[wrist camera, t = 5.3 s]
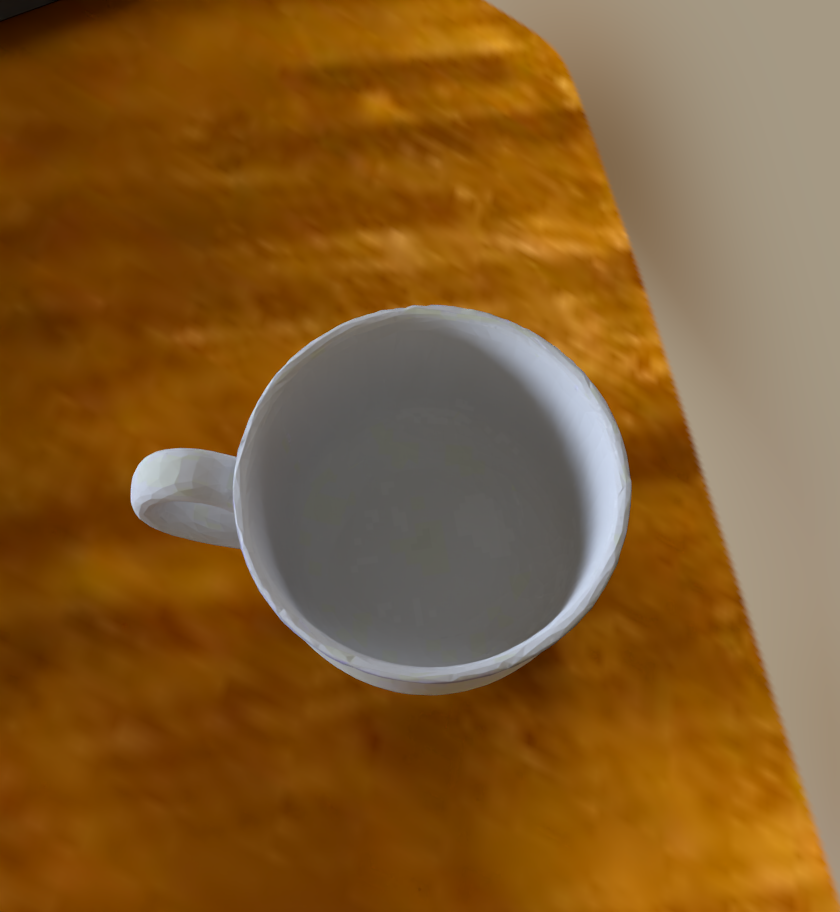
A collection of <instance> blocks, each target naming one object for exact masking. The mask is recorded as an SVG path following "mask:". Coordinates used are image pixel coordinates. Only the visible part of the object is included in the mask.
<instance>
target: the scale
mask: <svg viewBox="0 0 840 912" xmlns="http://www.w3.org/2000/svg"><path fill="white" fill-rule="evenodd" d="M54 1H57V0H0V21H2V20H4V19H7V18H10V17H13V16H15V15H18V14H21V13H24V12H27V11H29V10H32V9H35V8H38V7H40V6H43V5H46V4H49V3H51V2H54Z"/></svg>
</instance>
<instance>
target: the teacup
mask: <svg viewBox="0 0 840 912" xmlns="http://www.w3.org/2000/svg"><path fill="white" fill-rule="evenodd" d="M131 504H132V507H133V510H134V512H135V513H136V515H137V516H138V517H139V519H141V520H142V521H144V522H145V523H146V524H148V525H149V526H151V527H153V528H155V529H158V530H160V531H162V532H165V533H168V534H171V535H174V536H178V537H182V538H186V539H190V540H194V541H198V542H203V543H208V544H214V545H220V546H226V547H232V548H238V549H241V550H242V553H243V556H244V558H245V561H246V564H247V566H248V569H249V571H250V573H251V575H252V577H253V579H254V581H255V583H256V585H257V587H258V589H259V591H260V593H261V594H262V596H263V597H264V598H265V600H266V601H267V602H268V604H269V605H270V606H271V608H272V609H273V610H274V612H275V613H276V614H277V615H278V617H279V618H280V619H281V621H282V622H284V623H285V624H286V625H287V626H288V627H289V628H290V629H291V630H292V631H293V632H294V633H295V634H297V635H298V636H299V637H300V638H302V639H303V640H304V641H305V642H306V643H307V644H309V645H310V646H311V647H312V648H313V649H314V650H315V651H316V652H317V653H318V654H320V655H321V656H322V657H323V658H325V659H326V660H327V661H328V662H330V663H331V664H333V665H334V666H336V667H337V668H339V669H340V670H342V671H344V672H345V673H347V674H349V675H351V676H353V677H354V678H356V679H358V680H361V681H363V682H366V683H368V684H370V685H373V686H376V687H380V688H383V689H387V690H390V691H394V692H399V693H405V694H414V695H443V694H452V693H458V692H463V691H468V690H471V689H475V688H478V687H481V686H485V685H488V684H490V683H492V682H495V681H497V680H499V679H501V678H503V677H505V676H507V675H509V674H511V673H513V672H514V671H516V670H518V669H519V668H521V667H522V666H524V665H525V664H527V663H528V662H530V661H531V660H532V659H534V658H535V657H536V656H538V655H539V654H540V653H541V652H543V651H544V650H546V649H547V648H549V647H551V646H552V645H554V644H555V643H556V642H557V641H558V640H560V639H561V638H562V637H563V636H564V635H565V634H567V633H568V632H569V631H570V630H571V629H572V628H574V627H575V626H576V625H577V624H578V623H579V621H580V620H581V619H582V618H583V617H584V616H585V615H586V614H587V613H588V612H589V611H590V610H591V609H592V607H593V606H594V604H595V603H596V601H597V599H598V598H599V596H600V595H601V593H602V591H603V590H604V588H605V587H606V585H607V583H608V581H609V579H610V577H611V575H612V573H613V571H614V569H615V567H616V566H617V564H618V560H619V556H620V552H621V549H622V546H623V543H624V540H625V537H626V532H627V526H628V520H629V513H630V506H631V478H630V472H629V465H628V458H627V454H626V450H625V447H624V443H623V439H622V437H621V434H620V431H619V428H618V426H617V424H616V421H615V419H614V417H613V415H612V413H611V411H610V409H609V407H608V405H607V403H606V401H605V399H604V398H603V397H602V395H601V394H600V392H599V391H598V390H597V388H596V387H595V386H594V384H593V383H592V382H591V381H590V380H589V378H588V377H587V376H586V375H585V373H584V372H583V371H582V370H581V369H580V368H579V367H577V366H576V364H575V363H574V362H573V361H572V360H571V359H569V358H568V357H567V356H565V355H564V354H563V353H562V352H561V351H560V350H559V349H558V348H556V347H555V346H553V345H552V344H550V343H549V342H547V341H546V340H544V339H543V338H541V337H540V336H538V335H537V334H535V333H533V332H532V331H530V330H528V329H526V328H523V327H521V326H519V325H517V324H515V323H513V322H511V321H508V320H506V319H502V318H499V317H497V316H494V315H492V314H489V313H485V312H481V311H477V310H472V309H464V308H459V307H454V306H443V305H430V306H417V305H413V306H410V307H407V308H396V309H392V310H381V311H378V312H376V313H373V314H368V315H365V316H362V317H358V318H355V319H353V320H350V321H348V322H345V323H343V324H341V325H339V326H337V327H335V328H334V329H332V330H330V331H329V332H327V333H325V334H324V335H322V336H320V337H319V338H317V339H315V340H314V341H312V342H311V343H309V344H308V345H307V346H305V347H304V348H303V349H302V350H300V351H299V352H298V353H297V354H295V355H294V356H293V357H292V358H291V359H290V360H289V361H288V362H287V364H286V365H285V366H284V367H283V368H282V369H281V370H279V371H278V372H277V373H276V375H275V376H274V378H273V379H272V380H271V382H270V383H269V385H268V386H267V387H266V389H265V391H264V392H263V394H262V395H261V397H260V399H259V400H258V402H257V404H256V406H255V408H254V410H253V412H252V414H251V416H250V419H249V421H248V424H247V426H246V429H245V432H244V435H243V438H242V440H241V443H240V446H239V449H238V453H237V457H234V456H230V455H226V454H222V453H218V452H213V451H207V450H202V449H189V448H176V449H166V450H162V451H158V452H155V453H153V454H151V455H149V456H146V457H145V458H144V459H143V460H142V461H141V462H140V464H139V465H138V467H137V469H136V470H135V473H134V475H133V477H132V484H131Z"/></svg>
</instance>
